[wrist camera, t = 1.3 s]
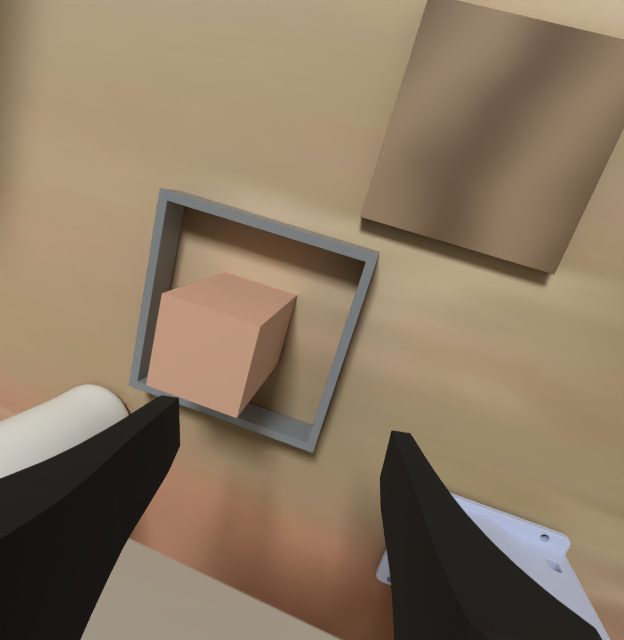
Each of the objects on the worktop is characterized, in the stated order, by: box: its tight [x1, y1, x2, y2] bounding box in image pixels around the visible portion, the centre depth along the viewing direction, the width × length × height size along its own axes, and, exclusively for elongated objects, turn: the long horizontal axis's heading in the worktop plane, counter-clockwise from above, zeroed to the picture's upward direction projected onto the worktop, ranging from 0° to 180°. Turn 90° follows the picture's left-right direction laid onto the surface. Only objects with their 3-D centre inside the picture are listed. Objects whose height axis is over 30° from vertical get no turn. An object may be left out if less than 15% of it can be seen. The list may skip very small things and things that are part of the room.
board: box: [361, 0, 624, 274], centre depth 19 cm, size 10×10×1 cm
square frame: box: [129, 188, 379, 453], centre depth 23 cm, size 12×12×2 cm
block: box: [146, 272, 297, 418], centre depth 20 cm, size 4×4×7 cm
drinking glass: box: [0, 384, 129, 478], centre depth 20 cm, size 7×7×15 cm
